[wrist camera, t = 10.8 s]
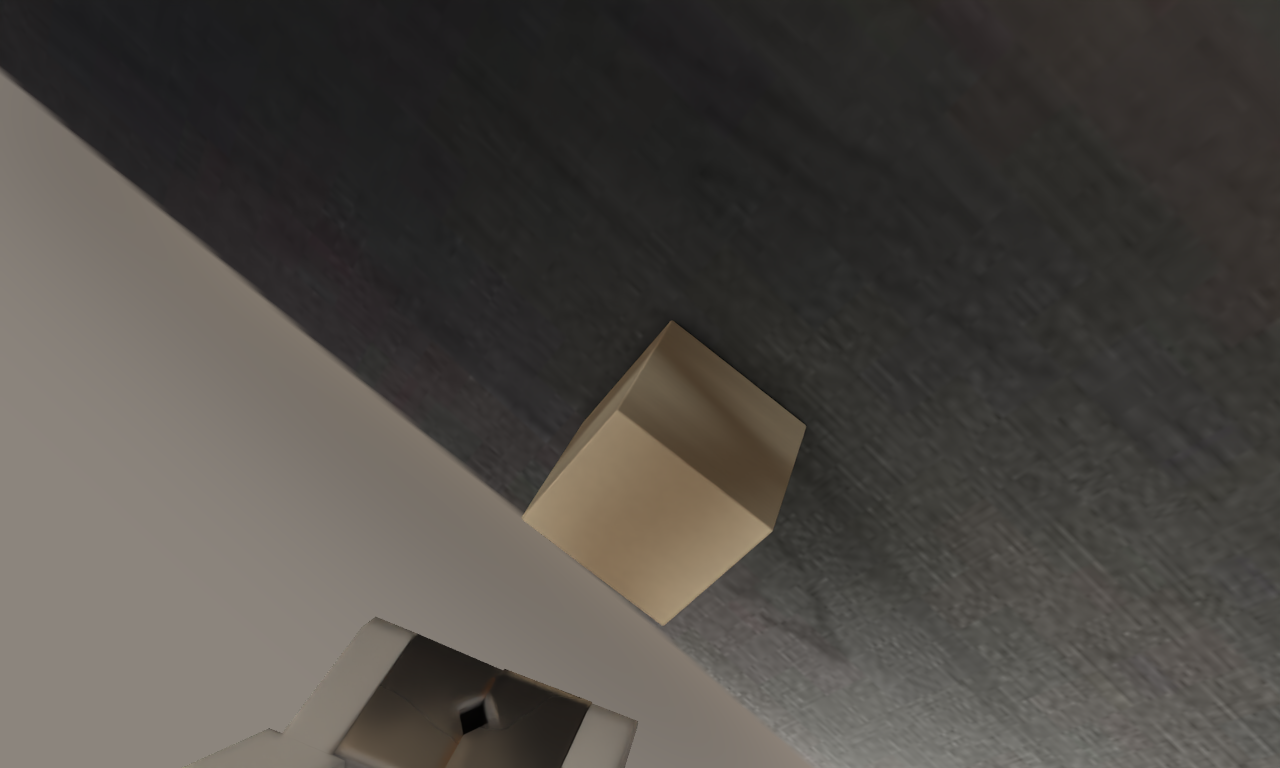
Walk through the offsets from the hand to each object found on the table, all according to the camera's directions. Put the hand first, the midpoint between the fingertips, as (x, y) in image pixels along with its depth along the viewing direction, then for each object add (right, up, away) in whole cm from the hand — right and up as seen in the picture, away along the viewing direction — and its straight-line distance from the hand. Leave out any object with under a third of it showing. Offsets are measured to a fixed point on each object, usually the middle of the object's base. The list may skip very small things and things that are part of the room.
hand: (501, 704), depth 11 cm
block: (+3, +2, +17) cm, 17 cm away
